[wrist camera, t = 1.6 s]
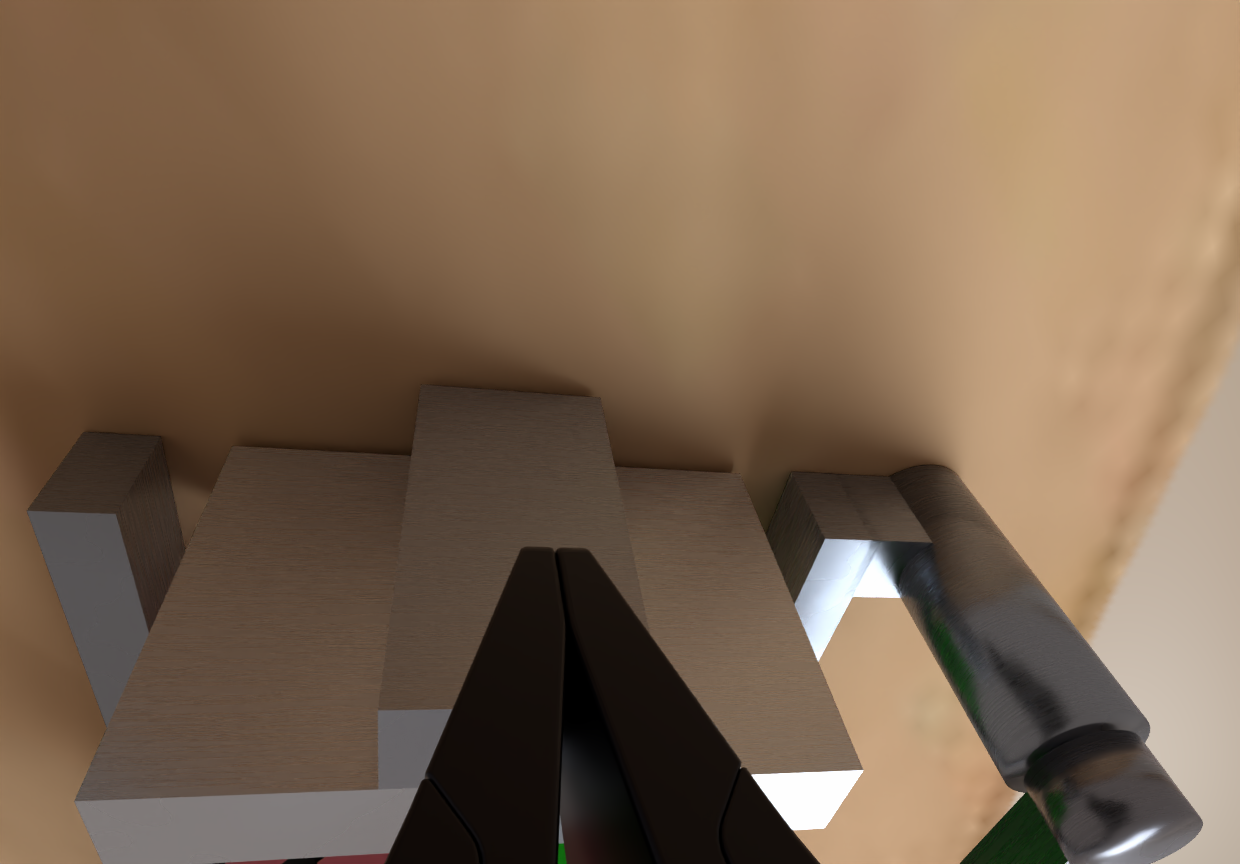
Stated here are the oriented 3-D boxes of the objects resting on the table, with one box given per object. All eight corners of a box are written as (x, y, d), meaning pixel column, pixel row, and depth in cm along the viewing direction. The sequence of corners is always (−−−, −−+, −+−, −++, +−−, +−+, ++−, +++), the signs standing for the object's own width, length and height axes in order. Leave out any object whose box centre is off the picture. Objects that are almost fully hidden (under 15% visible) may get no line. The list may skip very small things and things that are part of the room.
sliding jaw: (720, 530, 20) (824, 828, 14) (242, 512, 18) (105, 869, 11) (762, 410, 18) (909, 701, 12) (221, 369, 15) (35, 716, 9)
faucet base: (758, 846, 33) (822, 1078, 27) (212, 879, 28) (131, 1173, 22) (981, 467, 21) (1199, 733, 14) (77, 413, 16) (-197, 775, 9)
